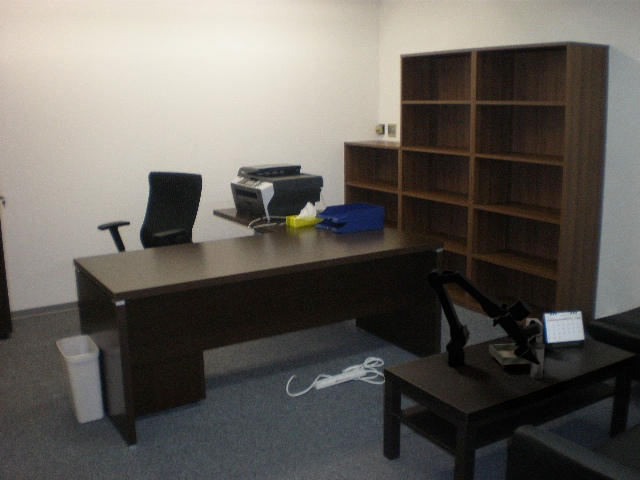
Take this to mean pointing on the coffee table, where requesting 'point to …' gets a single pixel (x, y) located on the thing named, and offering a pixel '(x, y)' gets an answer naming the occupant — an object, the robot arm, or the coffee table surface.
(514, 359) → the shallow grey tray
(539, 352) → the metal canister
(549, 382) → the coffee table surface
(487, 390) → the coffee table surface
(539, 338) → the ink box
